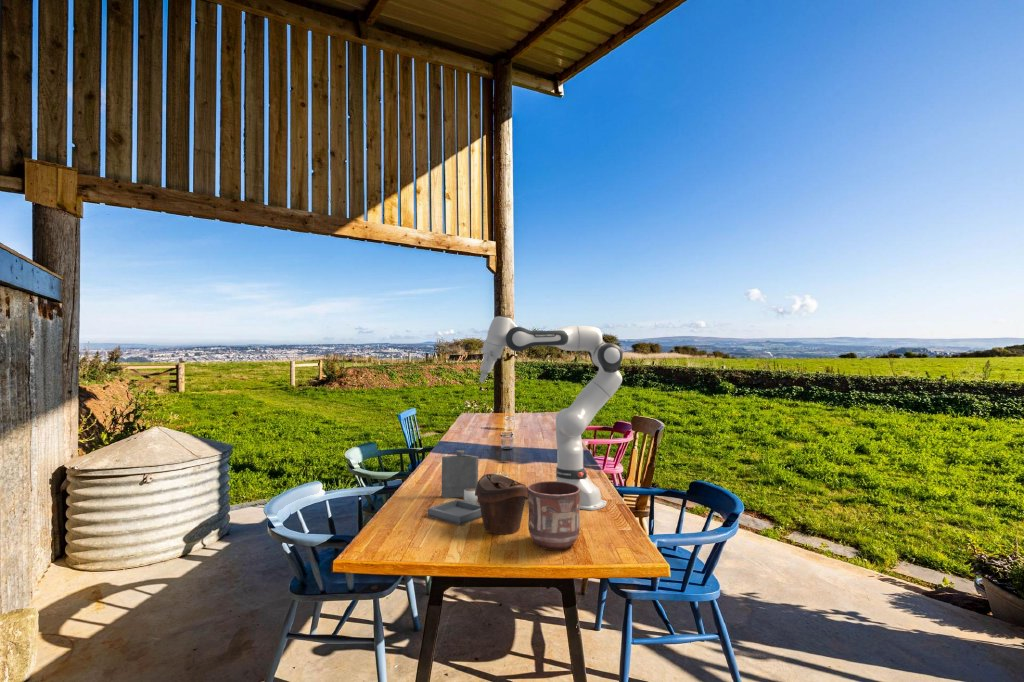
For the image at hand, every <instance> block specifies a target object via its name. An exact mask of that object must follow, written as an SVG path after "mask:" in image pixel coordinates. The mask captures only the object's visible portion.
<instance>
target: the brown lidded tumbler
mask: <svg viewBox="0 0 1024 682" xmlns="http://www.w3.org/2000/svg"><path fill="white" fill-rule="evenodd" d="M527 487H528V486H527V485H526V484H524V483H521V482H518V481H516V480H515V479H512V478H509V477H507V476H504V475H500V474H497V473H486V474H484V475H482V476H481V477H479V478H478V483H477V487H476V490H475V496H477V501H478V504H479V505H480V509H481V514H482V518H481V519H482V524H483V530H484V531H486V532H487V533H489V534H494V535H511V534H516V533H517V532H518V531H520V528H521V522H522V520H523V519H522V518H523V513H524V508H525V504H526V500H528V493H527Z"/></svg>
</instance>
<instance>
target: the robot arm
mask: <svg viewBox="0 0 1024 682" xmlns="http://www.w3.org/2000/svg"><path fill="white" fill-rule="evenodd" d="M549 346H550V347H555V348H558V349H560V350H561V351H562V350H563V351H569V352H578V351H579V352H581V351H584V352H588V356H589V358H590V361H591V363H592V364H593V365H594V366H595V367H596V368H598V371H597V374H596V375H595V376H594V377H593V378H592V379H591V380H590V381H589V382H588V383H587V385H586V386H585V387H584V388H583V389H582V390H581V391H580V392H579V393H578V394H577V396H576V398H575V399H574V401H573V402H572V403H571V405H570V406H569V407H566V408H565V407H564V408H562V409H561V410H559V411H558V412H557V414H556V416H555V436H556V451H557V453H556V455H557V458H556V459H557V460H556V461H557V462H556V463H557V464H556V468H555V474H556V475H555V476H556V477H555V478H556V481H558V482H566V483H570V484H574V485H576V486H578V487H579V488H580V489H581V494H580V510H585V511H598V510H601V509H603V508H605V507H606V506H607V501H606V500H604V499H602V494H601V489H600V488H599V487H598V486H597V485H596V484H595V483H593V482H592V481H591V479H589V478H588V476H587V474H589V470H586V469H585V468H584V447H583V440H582V434H583V433H584V432H585V431H586V429H587V427H588V426H589V425H590V424H591V422H592V421H593V420H594V418H595V416H596V415H597V414H598V412H599V411H600V410H601V409H602V408H603V406H605V404H606V403H607V402H608V401H609V400H610V399H611V398H612V397H613V396H614V394H615V393H616V392H617V391H618V389H619V388H620V387H621V384H622V382H623V376H622V374H621V372H620V371H619V370H620V368H621V365H622V360H623V358H624V357H623V355H624V353H623V350H622V349H621V348H620V346H619V345H617V344H615V343H613V342H605V341H604V339H603V333H602V331H601V329H600V328H599V327H597V326H593V325H592V326H591V325H590V326H589V325H568V326H563V327H560V328H556V329H553V330H529V329H528V328H525V327H522V326H518V325H517V324H516V323H515V322H514V320H513V318H511V317H509V316H506V315H505V316H504V315H498V316H495V317H494V318H493V319H492V320H491V323H490V325H489V328H488V330H487V335H486V339H485V340H484V342H483V345H482V349H481V351H480V352H481V353H482V357H483V360H482V363H481V366H480V368H479V370H480V372H481V373H480V376H479V381H478V382H479V383H485V382H486V379H487V377H488V374H490V373H491V372H492V370H493V368H494V366H495V364H496V362H497V361H498V359H501V357H502V355H503V352H504V349H505V347H506V348H508V349H509V350H511V351H512V352H513V351H514V352H523V351H525V350H527V349H529V348H532V347H549Z"/></svg>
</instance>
